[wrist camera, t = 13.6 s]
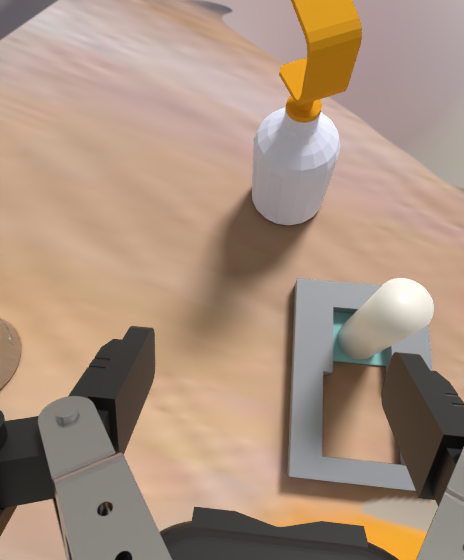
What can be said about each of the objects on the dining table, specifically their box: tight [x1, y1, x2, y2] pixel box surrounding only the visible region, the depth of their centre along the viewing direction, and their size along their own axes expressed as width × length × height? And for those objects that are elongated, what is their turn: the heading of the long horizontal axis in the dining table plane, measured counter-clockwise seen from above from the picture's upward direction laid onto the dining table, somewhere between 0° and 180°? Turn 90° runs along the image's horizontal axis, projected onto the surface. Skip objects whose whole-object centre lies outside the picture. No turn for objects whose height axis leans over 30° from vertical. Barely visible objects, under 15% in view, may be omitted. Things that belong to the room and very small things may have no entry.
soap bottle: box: [252, 0, 362, 225], centre depth 38 cm, size 9×9×25 cm
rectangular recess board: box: [287, 278, 433, 491], centre depth 40 cm, size 20×14×2 cm
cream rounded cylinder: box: [337, 278, 434, 360], centre depth 36 cm, size 4×4×13 cm
